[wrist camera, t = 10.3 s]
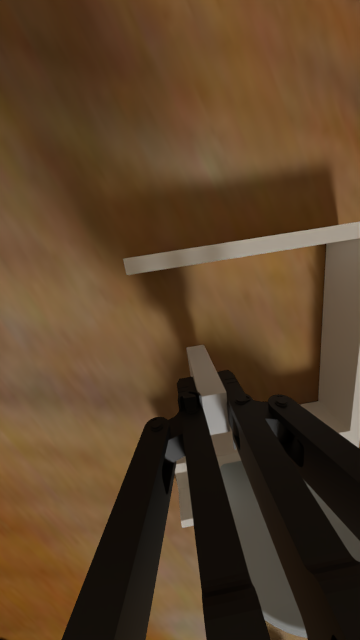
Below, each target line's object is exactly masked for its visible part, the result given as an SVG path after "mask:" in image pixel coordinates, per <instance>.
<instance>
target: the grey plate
mask: <svg viewBox="0 0 360 640" xmlns="http://www.w3.org/2000/svg"><path fill="white" fill-rule="evenodd" d="M220 471H221V474H222V478H223V482H224V485H225V489H226V492H227V496H228V500H229V503H230V507H231V510H232V514H233V518H234V521H235V525H236V529H237V532H238V536H239V539H240V543H241V547H242V550H243V554H244V557H245V561H246V565H247V568H248V572H249V575H250V578H251V581H252V584H253V585H254V587H255V590H256V593H257V595H258V599H259V602H260V605H261V609H262V612H263V616H264V619H265V620H266V621H267V622H269V623H270V624H272V625H273V626H275V627H277V628H279V629H281V630H283V631H285V632H287V633H290V634H293V635H297V636H300V637H306V638H307V634H306V630H305V626H304V623H303V620H302V617H301V614H300V611H299V609H298V606H297V603H296V601H295V598H294V596H293V593H292V590H291V588H290V585H289V583H288V580H287V578H286V575H285V572H284V570H283V567H282V565H281V562H280V559H279V557H278V554H277V552H276V549H275V546H274V544H273V541H272V539H271V536H270V534H269V531H268V528H267V526H266V523H265V521H264V518H263V515H262V513H261V510H260V508H259V505H258V502H257V500H256V497H255V495H254V492H253V489H252V487H251V484H250V482H249V479H248V477H247V474H246V471H245V469H244V466H243V464H242V461H237V462H232V463H227V464H223V465H222V466H221V467H220ZM303 480H304V479H303ZM304 481H305V480H304ZM305 483H306V482H305ZM306 485H307V486H308V488H309V489H310V491H311V493H312V494H313V496H314V497H315V499H316V501H317V502H318V504H319V505H320V507H321V509H322V510H323V512H324V513H325V515H326V516H327V518H328V520H329V521H330V523H331V524H332V526H333V528H334V529H335V531H336V532H337V534H338V536H339V537H340V539H341V540H342V542H343V543H344V545H345V547H346V548H347V550H348V551H349V553H350V554H351V556H352V557H353V558H354V559H355V560H356V561H359V562H360V541H359V540H358V539H357V538H356V536H355V535H354V534H353V533H352V532H351V531H350V530H349V529H348V528H347V527H346V525H345V524H344V523H343V522H342V521H341V520H340V519H339V518H338V517H337V516H336V514H335V513H334V512H333V511H332V510H331V509H330V508H329V507H328V506H327V505H326V504H325V502H324V501H323V500H322V499H321V498H320V497H319V496H318V495H317V494H316V493H315V491H314V490H313V489H312V488H311V487H310V486H309V485H308V484H307V483H306Z"/></svg>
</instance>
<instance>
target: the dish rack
mask: <svg viewBox="0 0 360 640" xmlns="http://www.w3.org/2000/svg"><path fill="white" fill-rule="evenodd" d="M320 244H326V262H325V281H324V300H323V319H322V338H321V356H320V375H319V394H318V401H316V402H311V403H305V404H300V405H301V406H302V407H303V408H305V409H306V410H308V411H309V412H310V413H312V414H313V415H314V416H316V417H317V418H318V419H320V420H321V421H323V422H324V423H325V424H327V425H328V426H329V427H331V428H332V429H333V430H335V431H336V432H338V433H339V434H340V435H342V436H343V437H344V438H346V439H347V440H348V441H350V442H351V443H353V444H354V445H355V446H357V447H358V448H359V441H360V222H355V223H349V224H342V225H336V226H329V227H323V228H317V229H310V230H304V231H297V232H291V233H285V234H278V235H272V236H265V237H259V238H253V239H246V240H240V241H233V242H227V243H221V244H214V245H208V246H201V247H195V248H189V249H182V250H176V251H169V252H163V253H157V254H150V255H144V256H137V257H131V258H125V259H123V261H124V266H125V270H126V275H131V274H138V273H144V272H150V271H157V270H163V269H169V268H175V267H182V266H188V265H194V264H201V263H207V262H213V261H219V260H226V259H232V258H238V257H245V256H251V255H257V254H263V253H270V252H276V251H282V250H289V249H295V248H301V247H307V246H314V245H320ZM211 438H212V442H213V446H214V449H215V453H216V456H217V460H218V464H219V467H221V466H222V465H223V464H227V463H232V462H237V461H241V458H240V456H239V453H238V451H237V448H236V449H234V446H233V436H232V430H231V427H230V432H225V433H219V434H214V435H211ZM175 476H176V480H177V485H178V490H179V503H180V517H181V524H182V528H184V527H189V526H194V523H193V515H192V506H191V498H190V490H189V482H188V474H187V466H186V458H185V457H183V458H181V459H179V460H177V461H176V469H175Z"/></svg>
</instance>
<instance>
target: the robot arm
mask: <svg viewBox="0 0 360 640" xmlns="http://www.w3.org/2000/svg"><path fill="white" fill-rule="evenodd" d="M186 349H187V356H188V363H189V369H190V376H191V377H188V378H182V379H179V381H178V382H177V388H178V404H179V412H178V414H177V415H176V416H175V417H173V418H171V419H169V420H167V419H165V418H164V417H155V418H153V419H151V420H149V421H148V422H147V423H146V425H145V427H144V429H143V432H142V434H141V437H140V440H139V442H138V445H137V447H136V450H135V452H134V455H133V458H132V460H131V463H130V465H129V468H128V470H127V473H126V476H125V478H124V481H123V483H122V486H121V488H120V491H119V493H118V496H117V499H116V501H115V504H114V506H113V509H112V511H111V514H110V517H109V519H108V522H107V524H106V527H105V529H104V532H103V535H102V537H101V540H100V542H99V545H98V547H97V550H96V553H95V555H94V558H93V560H92V563H91V565H90V568H89V570H88V573H87V576H86V578H85V581H84V583H83V586H82V588H81V591H80V594H79V596H78V599H77V601H76V604H75V606H74V609H73V612H72V614H71V617H70V619H69V622H68V624H67V627H66V630H65V632H64V635H63V637H62V640H145V639H146V633H147V627H148V622H149V616H150V610H151V605H152V599H153V593H154V588H155V582H156V576H157V571H158V565H159V559H160V554H161V548H162V542H163V537H164V531H165V525H166V520H167V514H168V508H169V503H170V497H171V491H172V486H173V480H174V474H175V469H176V461H177V460H179V459H181V458H183V457H185V458H186V466H187V474H188V482H189V490H190V498H191V506H192V515H193V523H194V531H195V539H196V547H197V555H198V563H199V572H200V580H201V588H202V603H203V613H204V622H205V630H206V638H207V640H270V637H269V633H268V630H267V626H266V623H265V619H264V616H263V612H262V609H261V605H260V602H259V599H258V595H257V593H256V590H255V587H254V585H253V584H252V581H251V578H250V575H249V572H248V568H247V565H246V561H245V557H244V554H243V550H242V547H241V543H240V539H239V536H238V532H237V529H236V525H235V521H234V518H233V514H232V510H231V507H230V503H229V500H228V496H227V492H226V489H225V485H224V482H223V478H222V474H221V471H220V467H219V464H218V460H217V456H216V453H215V449H214V446H213V442H212V438H211V435H214V434H219V433H225V432H230V427H231V430H232V436H233V446H234V449H236V448H237V451H238V453H239V456H240V458H241V461H242V464H243V466H244V469H245V471H246V474H247V477H248V479H249V482H250V484H251V487H252V489H253V492H254V495H255V497H256V500H257V502H258V505H259V508H260V510H261V513H262V515H263V518H264V521H265V523H266V526H267V528H268V531H269V534H270V536H271V539H272V541H273V544H274V546H275V549H276V552H277V554H278V557H279V559H280V562H281V565H282V567H283V570H284V572H285V575H286V578H287V580H288V583H289V585H290V588H291V590H292V593H293V596H294V598H295V601H296V603H297V606H298V609H299V611H300V614H301V617H302V620H303V623H304V626H305V630H306V634H307V638H308V640H360V562H359V561H356V560H355V559H354V558H353V557H352V556H351V554H350V553H349V551H348V550H347V548H346V547H345V545H344V543H343V542H342V540H341V539H340V537H339V536H338V534H337V532H336V531H335V529H334V528H333V526H332V524H331V523H330V521H329V520H328V518H327V516H326V515H325V513H324V512H323V510H322V509H321V507H320V505H319V504H318V502H317V501H316V499H315V497H314V496H313V494H312V493H311V491H310V489H309V488H308V486H307V485H306V483H307V484H308V485H309V486H310V487H311V488H312V489H313V490H314V491H315V493H316V494H317V495H318V496H319V497H320V498H321V499H322V500H323V501H324V502H325V504H326V505H327V506H328V507H329V508H330V509H331V510H332V511H333V512H334V513H335V514H336V516H337V517H338V518H339V519H340V520H341V521H342V522H343V523H344V524H345V525H346V527H347V528H348V529H349V530H350V531H351V532H352V533H353V534H354V535H355V536H356V538H357V539H358V540H359V541H360V449H359V448H358V447H357V446H355V445H354V444H353V443H351V442H350V441H348V440H347V439H346V438H344V437H343V436H342V435H340V434H339V433H338V432H336V431H335V430H333V429H332V428H331V427H329V426H328V425H327V424H325V423H324V422H323V421H321V420H320V419H318V418H317V417H316V416H314V415H313V414H312V413H310V412H309V411H308V410H306V409H305V408H303V407H302V406H301V405H299V404H298V403H297V402H295V401H294V400H293V399H291V398H289V397H287V396H284V395H273V396H271V397H270V398H269V400H268V402H259V401H254V400H253V399H252V398H251V397H250V396H249V395H247V394H245V393H244V391H243V389H242V388H241V386H240V384H239V383H238V381H237V379H236V378H235V376H234V374H233V373H232V372H230V371H229V370H224V371H219V372H217V371H216V369H215V367H214V365H213V363H212V361H211V359H210V357H209V354H208V352H207V350H206V348H205V346H204V345H198V346H192V347H187V348H186ZM303 479H304V480H305V481H304V480H303ZM305 482H306V483H305ZM0 640H1V639H0Z"/></svg>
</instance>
